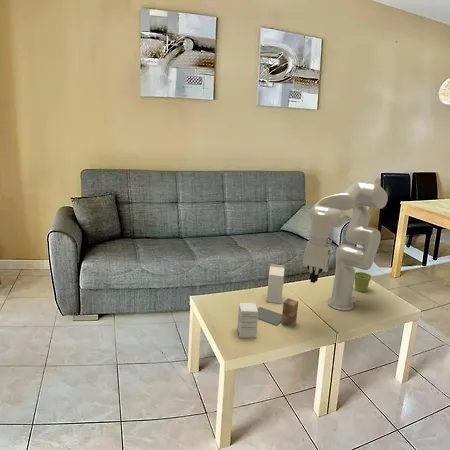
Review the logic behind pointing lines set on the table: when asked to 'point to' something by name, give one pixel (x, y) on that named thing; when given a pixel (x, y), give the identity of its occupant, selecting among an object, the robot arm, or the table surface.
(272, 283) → the milk carton
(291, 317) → the walnut block
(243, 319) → the supplement box
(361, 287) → the plant pot
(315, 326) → the table surface
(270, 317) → the mat
